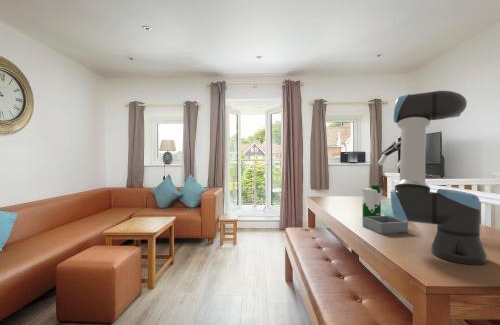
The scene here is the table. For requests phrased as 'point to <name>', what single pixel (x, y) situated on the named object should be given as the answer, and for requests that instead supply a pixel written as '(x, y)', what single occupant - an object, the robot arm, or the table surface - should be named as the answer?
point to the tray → (385, 224)
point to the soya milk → (371, 201)
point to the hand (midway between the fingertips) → (388, 165)
